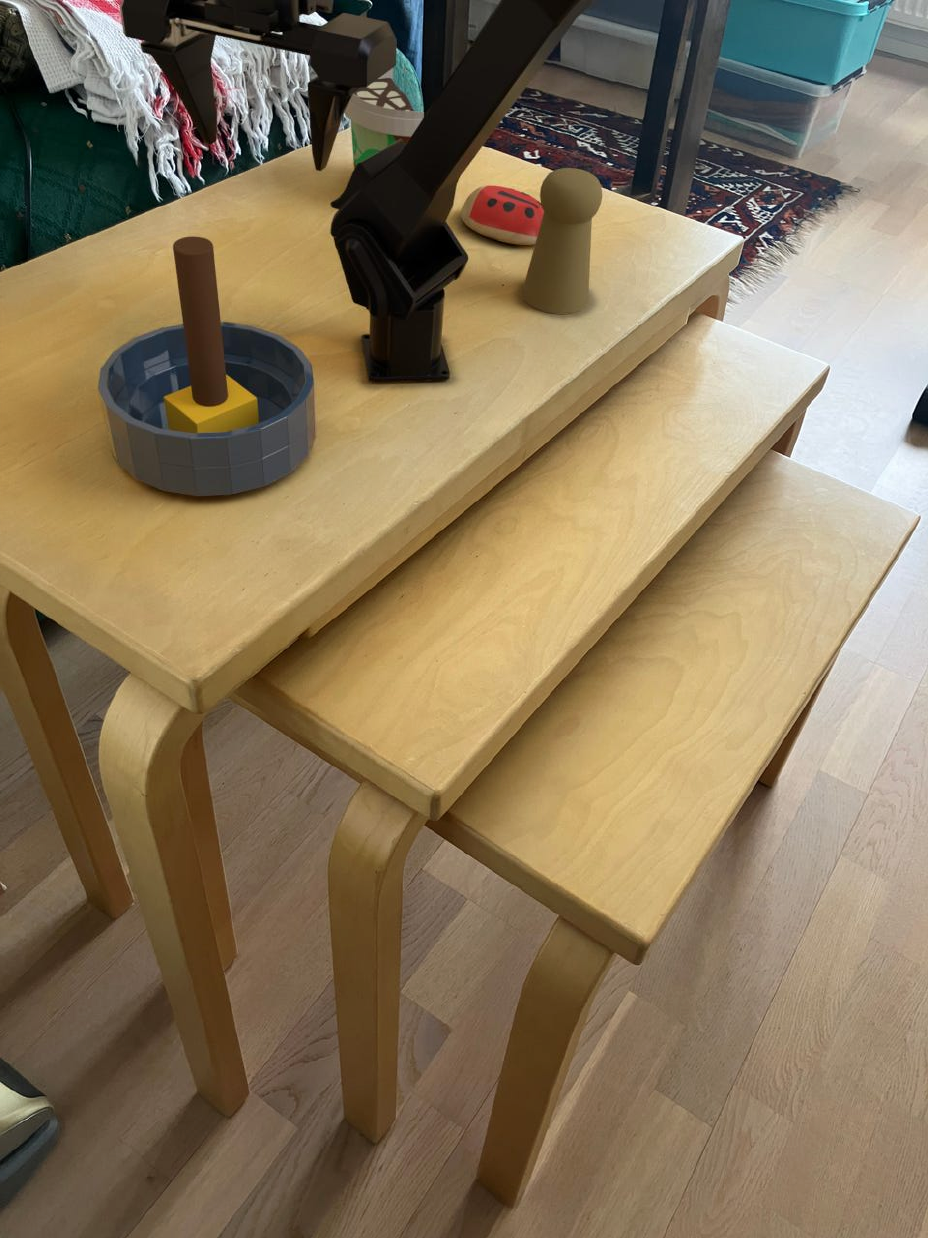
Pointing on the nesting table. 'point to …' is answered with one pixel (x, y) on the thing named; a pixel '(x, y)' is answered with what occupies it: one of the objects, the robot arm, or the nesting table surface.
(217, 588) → the nesting table surface
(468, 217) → the ladybug figurine
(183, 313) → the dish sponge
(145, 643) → the nesting table surface
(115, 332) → the nesting table surface
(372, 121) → the food container
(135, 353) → the bowl
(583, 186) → the olive brown pawn
